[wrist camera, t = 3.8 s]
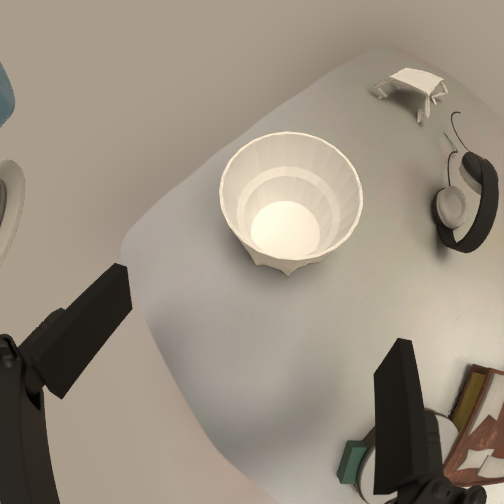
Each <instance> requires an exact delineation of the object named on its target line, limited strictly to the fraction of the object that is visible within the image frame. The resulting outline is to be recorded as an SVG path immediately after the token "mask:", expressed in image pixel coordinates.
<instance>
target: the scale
mask: <svg viewBox="0 0 504 504" xmlns="http://www.w3.org/2000/svg"><path fill="white" fill-rule="evenodd" d="M424 410H429V411H433V410H430V409H427V408H424ZM433 412H434V414H435V416H436V418H437V420H438V424H439V434H440V442H441V449H442V460H443V464H444V463H445V461H446V459H447V458H448V456H449V454H450V452H451V450H452V448H453V446H454V444H455V442H456V439H457V437H458V435H459V433H458V431H457V428H456V427H455V425H454V424H453V422H452V421H451V420H450V419H449V418H448V417H446V416H445V415H443V414H440V413H438V412H435V411H433ZM374 470H375V428H373V429H372V430H371V431H370V433H369V434H368V435H367V436H366V437H365V438H364V440H363V441H347V445H346V448H345V452H344V455H343V458H342V462H341V465H340V468H339V471H338V474H337V477H338V479H339V481H340V483H341V484H354V485H355V487H356V489H357V491H358V493H359V494H360V496H361V497H362V499H363V500H364V501H365V502H366V503H367V504H384V503H385V502H387V501H388V500H391V499H393V498H395V497H397V491H396V492H394V493H392V494H390V495H373V488H374ZM389 504H390V503H389Z"/></svg>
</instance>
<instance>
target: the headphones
mask: <svg viewBox="0 0 504 504" xmlns="http://www.w3.org/2000/svg"><path fill="white" fill-rule="evenodd" d="M454 113H460V112H453V113H452V115H451V122H452V116H453V114H454ZM452 125H453V123H452ZM453 128H454V126H453ZM454 131H455V129H454ZM455 133H456V131H455ZM445 135H446V134H445ZM456 135H457V133H456ZM446 136H447V135H446ZM457 136H458V135H457ZM458 138H459V137H458ZM449 140H450V139H449ZM459 140H460V138H459ZM460 141H461V140H460ZM451 143H452V142H451ZM461 143H462V142H461ZM452 144H453V143H452ZM462 144H463V143H462ZM463 146H464V145H463ZM454 147H455V146H454ZM464 147H465V146H464ZM455 148H456V147H455ZM465 148H466V147H465ZM466 149H467V148H466ZM456 150H457V149H456ZM467 150H468V149H467ZM468 151H469V150H468ZM457 152H458V150H457V151H453V152H451V154H452V153H457ZM451 154H450V155H449V158H448V180H449V186H448V187H446V188H442V189H441V190H440V191H439V192H438V193H437V194H436V196H435V197H434V200H433V212H434V216H435V218H436V220H437V227H438V233H439V237H440V239H441V241H442V243H443V244H444V245H445V246H446V247H449V248H452V249H454V250H457V251H459V252H463V253H470V252H472V251H474V250H476V249H477V248H478V247H479V246H480V245H481V244H482V243H483V242H484V240H485V239H486V237H487V236H488V234H489V232H490V230H491V228H492V226H493V223H494V220H495V217H496V212H497V208H498V198H499V190H498V175H497V172H496V170H495V168H494V167H493V165H492V164H491V163H490V162H489V161H488V160H486V159H484V158H482V157H480V156H478V155H476V154H474V153H473V152H467V153H465V155H464V156H463V158H462V162H461V166H460V168H459V171H460V174H461V176H462V178H463V179H464V181H465V182H466V183H467V184H468V185H469V187H471V188H472V189H473V190H474V191H475V192H476V193H478V194H480V195H481V199H480V205H479V209H478V212H477V215H476V218H475V220H474V223H473V225H472V226H471V228H470V230H469V231H468V233H467V234H466V235H465V237H464V238H463V239H462V240H460V241H459V242H457V243H456V241H455V239H454V236H453V230H454V229H456V228H458V227H459V226H461V225H462V224H463V222H464V221H465V219H466V217H467V213H468V205H467V201H466V199H465V196H464V195H463V193H462V192H461V191H460V190H459V189H458V188H457V187H455V186H450V179H449V159H450V156H451Z"/></svg>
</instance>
